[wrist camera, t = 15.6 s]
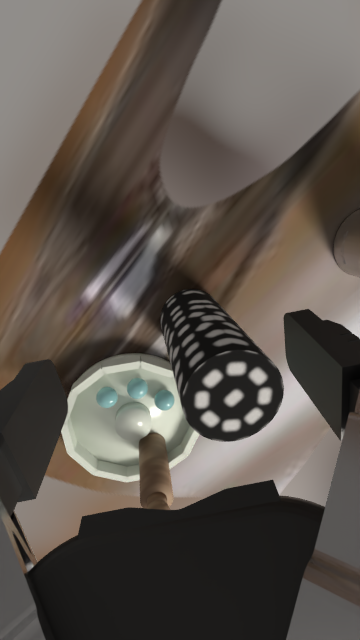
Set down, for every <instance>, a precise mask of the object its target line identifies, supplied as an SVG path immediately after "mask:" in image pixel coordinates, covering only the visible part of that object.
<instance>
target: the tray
mask: <svg viewBox="0 0 360 640" xmlns="http://www.w3.org/2000/svg"><path fill="white" fill-rule="evenodd" d="M67 401H68V414H67V417H66V419H65V422H64V425H63V427H62V430H61V433H62V436H63V440H64V443H65V447H66V450H67V453H68V455H70V456H71V457H72V458H73V459H74V460H75V461H77V462H78V463H79V464H80V465H81V466H83V467H84V468H85V469H86V470H87V471H89V472H90V473H91V474H92V475H93V474H94V475H95V476H99V477H104V478H109V479H113V480H118V481H122V482H126V481H127V482H131V481H136V480H140V472H139V441H140V439H142V438H144V437H145V436H146V435H147V434H148V433H158V434H161V435H162V436H163V437H164V439H165V442H166V449H167V456H168V463H169V469H171V468H172V467H174V466H175V465H176V464H178V463H179V462H181V461H182V460H183V459H185V458H186V457H188V455H189V454H190V452H191V450H192V448H193V446H194V444H195V442H196V440H197V438H198V436H199V433H197V432H196V431H195V430H194V429H193V428H192V427H191V426H190V425H189V423H188V422H187V420H186V418H185V415H184V412H183V409H182V405H181V401H180V398H179V394H178V390H177V386H176V382H175V378H174V374H173V371H172V367H171V363H170V362H168V361H167V360H165V359H162V358H160V357H157V356H153V355H149V354H143V353H127V354H120V355H115V356H112V357H109V358H106V359H104V360H102V361H100V362H98V363H96V364H94V365H93V366H91V367H90V368H88V369H87V370H86V371H85V372H84V373H83V374H82V375H81V376H80V377H79V378H78V379H77V381H76V382H74V384H73V385H72V388H71V391H70V393H69V396H68V399H67Z"/></svg>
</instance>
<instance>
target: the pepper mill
mask: <svg viewBox="0 0 360 640" xmlns="http://www.w3.org/2000/svg"><path fill="white" fill-rule="evenodd" d="M139 472H140V503H141V506H142V507H143V508H146V509H163V510H170V508H169V506H170V505H171V504H172V502H173V490H172V484H171V477H170V470H169V463H168V456H167V449H166V442H165V439H164V437H163V436H162V435H161V434H158V433H148V434H147V435H146V436H145V437H144V438H142V439H140V441H139Z"/></svg>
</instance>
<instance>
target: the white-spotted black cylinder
mask: <svg viewBox="0 0 360 640" xmlns="http://www.w3.org/2000/svg"><path fill="white" fill-rule="evenodd" d="M160 323H161V328H162V332H163V336H164V340H165V344H166V347H167V351H168V355H169V359H170V363H171V367H172V371H173V374H174V378H175V382H176V386H177V390H178V394H179V398H180V401H181V405H182V409H183V412H184V415H185V418H186V420H187V422H188V423H189V425H190V426H191V427H192V428H193V429H194V430H195V431H196V432H197V433H199V434H200V435H202V436H203V437H206V438H208V439H211V440H216V441H236V440H241V439H244V438H247V437H250V436H251V435H253V434H255V433H257V432H259V431H260V430H261V429H263V428H264V427H265V426H266V425H267V424H268V423H269V422H270V421H271V420H272V419H273V418H274V416H275V415H276V413H277V412H278V410H279V407H280V405H281V403H282V399H283V391H284V385H283V380H282V376H281V374H280V372H279V370H278V368H277V367H276V366H275V365H274V363H273V362H272V361H271V360H270V359H269V358H268V357H267V356H266V355H265V353H264V352H263V351H262V350H261V349H260V348H259V347H258V346H257V345H256V344H255V343H254V342H253V341H252V339H251V338H250V337H249V336H248V335H247V334H246V333H245V332H244V331H243V330H242V329H241V328H240V326H239V325H238V324H237V323H236V322H235V321H234V320H233V319H232V318H231V317H230V316H229V315H228V314H227V312H226V311H225V310H224V309H223V308H222V307H221V306H220V305H219V304H218V303H217V302H216V301H215V300H214V298H213V297H211V296H210V295H209V294H207V293H206V292H204V291H201V290H196V289H188V290H183V291H180V292H178V293H176V294H174V295H173V296H172V297H170V298H169V299H168V301H167V302H166V303H165V305H164V307H163V308H162V312H161V317H160Z"/></svg>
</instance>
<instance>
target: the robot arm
mask: <svg viewBox="0 0 360 640" xmlns="http://www.w3.org/2000/svg"><path fill="white" fill-rule="evenodd" d="M334 256H335V259H336V262H337V264H338V265H339V267H340V268H341V269H342V270H343V271H345V272H346V273H348V274H350V275H354V276H357V277H360V209H359V210H357V211H356V212H354V213H352V214H351V215H350V216H349V217H348V218H346V219H345V221H344V222H343V223H342V224H341V226H340V228H339V230H338V232H337V234H336V237H335V241H334ZM284 333H285V349H286V359H287V363H288V366H289V369H290V371H291V372H292V374H293V375H294V377H295V378H296V379H297V381H298V382H299V384H300V385H301V386H302V388H303V389H304V391H305V392H306V393H307V395H308V396H309V398H310V399H311V400H312V402H313V403H314V404H315V406H316V407H317V409H318V410H319V411H320V413H321V414H322V416H323V417H324V418H325V420H326V421H327V423H328V424H329V425H330V427H331V428H332V430H333V431H334V432H335V434H336V435H337V437H338V438H339V439H340V441H342V443H341V447H340V451H339V455H338V459H337V463H336V467H335V471H334V475H333V479H332V482H331V487H330V491H329V494H328V498H327V502H326V506H325V507H324V506H321V505H319V504H316V503H314V502H311V501H307V500H303V499H300V498H294V497H288V496H279V494H278V491H277V489H276V486H275V484H274V481H273V480H269V481H264V482H259V483H254V484H249V485H243V486H238V487H233V488H228V489H224V490H222V491H220V492H218V493H216V494H213V495H211V496H209V497H207V498H205V499H203V500H200V501H198V502H196V503H194V504H191V505H189V506H187V507H185V508H182V509H179V510H163V509H146V508H124V509H118V510H113V511H108V512H103V513H98V514H93V515H87V516H83V517H82V519H81V524H80V528H79V533H78V535H77V536H75V537H73V538H71V539H69V540H68V541H66V542H64V543H62V544H61V545H59V546H58V547H57V548H55V549H54V550H52V551H51V552H49V553H48V554H47V555H46V556H45V557H43V558H42V559H41V560H40V561H39V562H37V560H36V558H35V555H34V553H33V551H32V549H31V546H30V544H29V542H28V540H27V537H26V535H25V533H24V531H23V528H22V526H21V524H20V522H19V520H18V517H17V516H16V514H15V512H14V509H15V506H16V504H17V502H22V501H26V500H32V499H36V496H37V494H38V491H39V488H40V486H41V483H42V480H43V478H44V475H45V473H46V470H47V467H48V465H49V462H50V459H51V457H52V454H53V451H54V449H55V446H56V443H57V441H58V438H59V435H60V433H61V430H62V427H63V425H64V422H65V419H66V417H67V414H68V401H67V397H66V394H65V392H64V389H63V387H62V384H61V382H60V379H59V376H58V374H57V371H56V369H55V366H54V364H53V362H52V361H51V360H49V359H47V360H42V361H37V362H32V363H27V364H25V365H24V366H23V368H22V369H21V370H20V372H19V373H18V375H17V376H16V377H15V379H14V380H13V381H11V382H10V383H9V384H7V385H6V386H5V387H4V388H2V389H1V390H0V640H360V339H359V338H358V337H357V336H356V335H354V334H352V332H350V331H349V330H348V329H346V328H345V327H344V326H342V325H341V324H338V323H335V322H332V321H329V320H324V321H323V320H321V319H320V318H319V317H318V316H317V315H315V314H314V313H313V312H312V311H310V310H309V309H305V310H300V311H295V312H290V313H286V314H285V315H284Z"/></svg>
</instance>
